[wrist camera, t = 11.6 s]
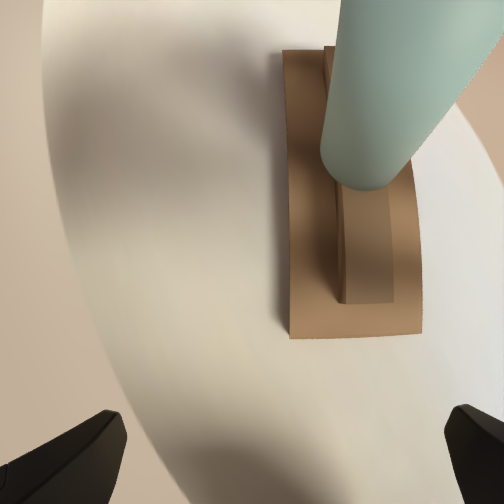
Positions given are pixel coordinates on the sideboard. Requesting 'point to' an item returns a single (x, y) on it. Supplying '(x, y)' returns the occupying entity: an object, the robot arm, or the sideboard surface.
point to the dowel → (399, 80)
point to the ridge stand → (344, 228)
